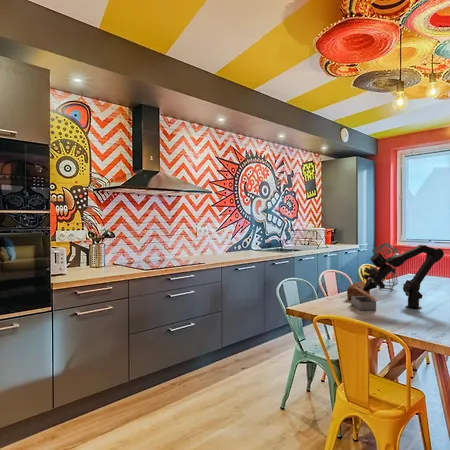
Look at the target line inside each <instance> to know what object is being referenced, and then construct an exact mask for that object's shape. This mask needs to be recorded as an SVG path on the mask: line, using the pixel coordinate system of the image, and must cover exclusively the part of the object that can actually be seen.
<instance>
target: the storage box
mask: <svg viewBox="0 0 450 450" xmlns="http://www.w3.org/2000/svg"><path fill="white" fill-rule="evenodd" d="M350 301H351V302H350V305H351V306H352V307H354V308H355V309H357V310H359V311H360V312H376V311H377V302H375V301H373V300H371V299H370V298H368V297H351V300H350Z"/></svg>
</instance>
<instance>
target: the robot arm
mask: <svg viewBox="0 0 450 450" xmlns="http://www.w3.org/2000/svg"><path fill="white" fill-rule="evenodd" d="M377 253H378V254H376V255H375V254H374V255H372V256H371V257H370V259H369V260H370V261H371V263H372V264H373V265H374V266H375V268H377V269H376V270H375V268H373V267H372V268H369V267H367V266H366V267H365V268H364V270H363V273H365V274H363V275H362V277H363V279H364V280H365V283H366V284H365V286H364V288H363V291H368V290H370V291H371V290H373V289H378V285H379V286H380V288H381V290H384V288H386V286H385V285H386V284H385V282H384V280H386V279H387V276H389V273H391V274H392V273H393V274H394V273H395V274H396V272H395V269H394V267H396V268H399V267H401V266H402V265H403V264H405V262H406V261H408V260H410V259H412V258H414V257H416V256H418V255H421V254H423V253H424V254H426V255H425V260H424V261H423V263H422V264H421V266H420V267H419V269H418V270H417V271H416V273H415V275H414V276H413V277H412V279H409V280H408V279H406V281H405V283H404V284H402V286H403V287H402V291H403V292H404V294H405V296H406V297H407V305H405V308H409V309H412V310H419V309H422V308H423V307H422V306H420V300H421V299H423V294H422V293H421V292H420V290H421V284H422V283H423V281H424V280H425V278H426V276H427V274H428V273H429V272H430V271H431V269H432V267H433V266H434V264H436V263H438V262H439V261H440V260H442V259H443V257H444V256H445V253H444V250H443V249H441V248H436V247H432V246H427V245H425V244H419V245H418V246H415V247H413V248H411V249H408V250H407V251H404V252H402V253H399V254H396V255H395V254H394V255H392V256H391V255H390V256H388V257H384V256H382V255H383V254H382V253H381V252H380V253H379V252H377ZM388 264H389V265H388ZM391 266H392V267H391ZM379 267H380V268H379ZM382 280H383V282H382Z"/></svg>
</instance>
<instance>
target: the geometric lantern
mask: <svg viewBox="0 0 450 450" xmlns="http://www.w3.org/2000/svg"><path fill="white" fill-rule="evenodd" d="M385 248H386V249H385ZM371 252H372V253H374V255H376V254H378V253H380V254H381V253H382V254H381V255H382V256H383V257H384V258H387V255H390V256H394V255H397V254H398V252H399V248H397V247H395V246H393V245H391V244H389V243H387V242H383V243H382V244H380V245H379V246H376V247H375V248H374V249H372V250H371ZM392 254H393V255H392ZM387 265H389V264H388V263H387ZM391 267H392V268H394V269H395V273H392V272H390V273H391V275H390V273H389V274H388V281H385V283H388V284H385V287H384V288H383V289H381V288H380V286H379V285H378V286H377V288H378V291H386V292H388V290H390V292H393V291H394V289H395V288H394V287H396V286H397V285H398V276H397V267H394V266H391ZM379 268H380V267H378V269H379ZM374 269H375V270H377V267H375V268H374ZM390 276H391V277H390ZM391 280H392V282H391ZM382 282H383V283H384V279H383V280H382Z"/></svg>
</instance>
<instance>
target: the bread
mask: <svg viewBox="0 0 450 450" xmlns="http://www.w3.org/2000/svg"><path fill="white" fill-rule="evenodd" d="M365 284H366V282H364V281H355V282H354V283H352V284H350V285H349V286H348V287H347V289H346V292H347V294H346V295H347V299H348V300H350V301H351V297H366V296H365V295H363V294H362V293H361V292H359V291H358V290H357V289H356V288H354V287H355V286H356V287H358V288H360V289H362V290H363V288H364V286H365ZM365 292H367V293H368V294H369V295H370V296H371V294H370V293H371V290H368V291H365Z"/></svg>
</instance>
